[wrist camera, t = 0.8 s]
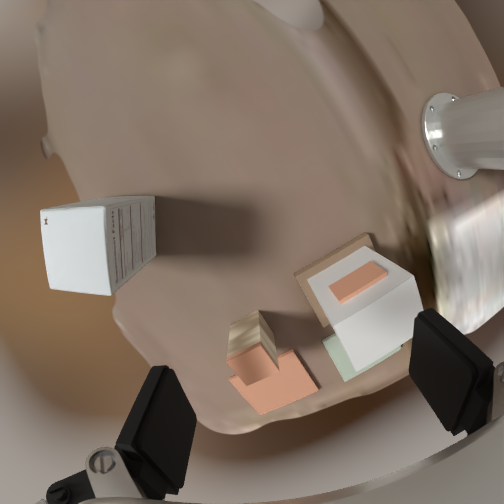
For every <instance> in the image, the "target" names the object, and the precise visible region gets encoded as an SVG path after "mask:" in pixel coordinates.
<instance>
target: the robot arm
mask: <svg viewBox="0 0 504 504" xmlns="http://www.w3.org/2000/svg"><path fill="white" fill-rule="evenodd" d="M422 132H423V137H424V141H425V145H426V147H427V150H428V152H429V154H430V156H431V158H432V160H433V161H434V163H435V164H436V165H437V167H438V168H439V169H440V170H441V171H442V172H443V173H445V174H446V175H447V176H449V177H452V178H454V179H467V178H470V177H471V176H473V175H474V174H475V173H476V172H477V170H478V169H498V170H504V87H501V88H497V89H493V90H489V91H485V92H482V93H478V94H474V95H471V96H467V97H464V98H458V97H457V96H455V95H453V94H450V93H439V94H436V95H434V96H432V97H431V98H430V99H429V100H428V101H427V102H426V104H425V106H424V109H423V113H422ZM409 374H410V377H411V378H412V380H413V381H414V383H415V384H416V386H417V387H418V388H419V390H420V391H421V393H422V394H423V396H424V397H425V399H426V400H427V402H428V403H429V405H430V406H431V408H432V409H433V411H434V412H435V414H436V415H437V417H438V418H439V420H440V422H441V423H442V425H443V426H444V428H445V429H446V430H447V431H451V433H452V434H453V436H455V435H457V434H458V433H460V432H462V431H463V430H466V432H467V437H465V438H464V439H462V440H460V441H458V442H457V443H455V444H453V445H451V446H449V447H448V448H446V449H444V450H442V451H440V452H438V453H436V454H434V455H432V456H430V457H428V458H426V459H424V460H422V461H419V462H417V463H415V464H413V465H410V466H408V467H406V468H403V469H401V470H398V471H396V472H393V473H391V474H388V475H385V476H382V477H379V478H377V479H374V480H371V481H368V482H365V483H361V484H358V485H355V486H351V487H347V488H343V489H340V490H336V491H332V492H327V493H322V494H317V495H313V496H307V497H301V498H296V499H289V500H280V501H272V502H261V503H245V504H504V362H501V363H500V364H498V365H497V366H496V368H495V367H494V366H493V361H492V360H491V359H490V358H489V357H487V356H486V355H485V354H484V353H483V352H482V351H481V350H480V349H479V348H478V347H477V346H476V345H474V344H473V343H472V342H471V341H470V340H469V339H468V338H467V337H465V336H464V335H463V334H462V333H461V332H460V331H459V330H458V329H456V328H455V327H454V326H453V325H452V324H451V323H449V322H448V321H447V320H446V319H445V318H444V317H442V316H441V315H440V314H439V313H438V312H436V311H435V310H434V309H432V308H429V309H426V310H424V311H421V312H419V313H418V315H417V317H415V319H414V329H413V340H412V349H411V357H410V364H409ZM196 422H197V418H196V414H195V412H194V410H193V408H192V406H191V405H190V403H189V401H188V399H187V397H186V395H185V393H184V391H183V389H182V387H181V385H180V383H179V380H178V378H177V376H176V374H175V372H174V370H173V369H169V367H168V366H166V365H164V366H153V367H152V368H151V370H150V372H149V374H148V376H147V378H146V380H145V382H144V384H143V386H142V388H141V390H140V392H139V394H138V396H137V398H136V401H135V402H134V405H133V407H132V409H131V411H130V413H129V415H128V417H127V419H126V422H125V424H124V426H123V428H122V430H121V432H120V435H119V437H118V439H117V441H116V445H115V448H111V447H100V448H97V449H95V450H94V451H92V452H91V453H90V454H89V455H88V457H87V458H86V462H85V467H86V469H85V470H83V471H81V472H79V473H77V474H74V475H72V476H70V477H67V478H65V479H63V480H60V481H58V482H55V483H54V484H52V485H51V486H50V487H49V489H48V490H47V494H46V499H47V500H46V501H45V500H44V499H41V500H40V501H39V502H37V503H36V504H199V503H182V502H170V501H165V495H166V494H175V495H178V492H179V488H182V487H183V485H184V481H185V476H186V470H187V466H188V460H189V456H190V451H191V446H192V441H193V437H194V432H195V427H196Z"/></svg>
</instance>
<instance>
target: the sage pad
mask: <svg viewBox="0 0 504 504" xmlns="http://www.w3.org/2000/svg"><path fill="white" fill-rule="evenodd" d="M322 342H323V344H324V345H325V347H326V349H327V351H328V353H329V354H330V356H331V358H332V360H333V361H334V363H335V365H336V367H337V369H338V371H339V372H340V374H341V376H342V378H343V380H344V381H345V382H346V381H348V380H349V379H351V378H353V377H355V376H357V375H359V374H360V373H362V372H364V371H366V370H367V369H369V368H371V367H373V366H374V365H376V364H378V363H379V362H381V361H383V360H384V359H386V358H387V357H389V356H391V355H392V354H394V353H395V352H397V351H398V350H400V349H401V345H400V346H398V347H397V348H395V349H394V350H392V351H391V352H389V353H387V354H386V355H384V356H383V357H381V358H379V359H378V360H376V361H374V362H373V363H371V364H369V365H367V366H366V367H364V368H362V369H360V370H359V371H357V372H356V370H355V369H354V367H353V365H352V363H351V361H350V359H349V357H348V355H347V353H346V352H345V350H344V348H343V346H342V344H341V342H340V340H339V339H338V337H337V335H336V333H334V334H332V335H331V336H329V337H327V338H325V339H323V340H322Z"/></svg>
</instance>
